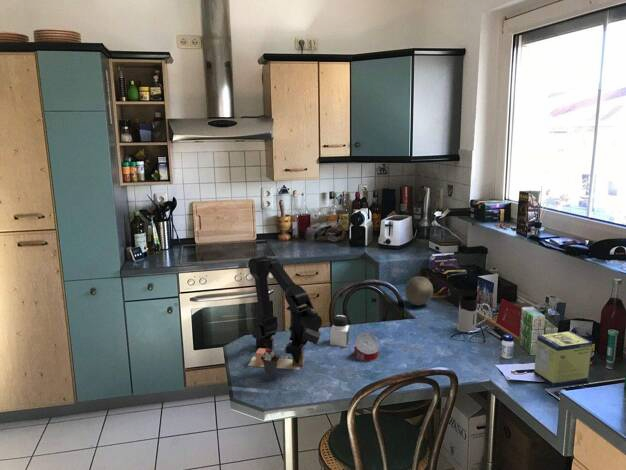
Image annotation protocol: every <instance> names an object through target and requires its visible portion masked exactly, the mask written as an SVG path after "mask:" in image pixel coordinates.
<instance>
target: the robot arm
mask: <svg viewBox="0 0 626 470" xmlns="http://www.w3.org/2000/svg"><path fill="white" fill-rule="evenodd" d="M247 267H248V269H249V270H248V271H249V274H250V275H251V276H252V277H253V279H254V285H255V291H256V292H255V293H256V299H257V306H258V315H257V318H256V320H255V326H256V327H255V328H254V329H253V330H252V331H251V334H252V335H251V336H252V338H254V339H255V346H256V348H255V349H257V350H258V349H259V348H263V349H267V346H268V349H270V350H273V349H274V347H275V345H274V344H275V340H274V338H273V336H276V335H277V331H278V327H279V324H278V317H277V316H275V315H274V314H273V312H272V307H271V300H270V291H269V283H268V277H269V275H270V274H271V276H272V277H273V278H274V279H275V281H276V282H277V284H278V285H279V286H280V288H281V289H282V291H283V292H284V299H285V300H286V302H287V304H288V306H287V307H286V310H287V311H289V312H290V313H289V315H290V318H289V319H290V326H289V331H290V336H289V342H288V343H287V344H286V346H285V348H284V349H285V350H284V351H285V352H284V353H285V354H286V355H291V357H293V358H294V360H295V362H296V363H297V364H299V360H300V355H301V354H302V353H303V351H304V350H305V346H306V344H307V343H308V342H309V343H312V344H314V345H318V343H319V340H320V337H321V335H322V334H321V331H320V328H321V327H322V324H323V320H322V319H323V318H322V317H321V316H320V315H319V313H318V312H317V311H313V310H314V309H315V308H314V305H313V302H312V301H311V299H310V296H309V295H308V292H307V291H306V290H305V289H304V288H303V287H302V286H300V285H298V284H296V283H295V282H294V281H293V279H292V278H291V276H290V275H289V274H288V272H287V271H286V270H285V269H284V267H283V266H282V265H281V262H280V260H279V259H278V258H275V257H267V256H266V255H261V256H255V257H252V258H250V259H249V260H248V264H247ZM265 344H266V345H267V346H266V345H265ZM304 352H305V351H304Z"/></svg>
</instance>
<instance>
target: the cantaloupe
mask: <svg viewBox="0 0 626 470" xmlns="http://www.w3.org/2000/svg"><path fill="white" fill-rule="evenodd" d="M433 287H434V286H433V283H431V281H430V280H429V279H428V278H427V277H425V276H414V277H411V278H410V279H409V281H407V283H406V286H405V292H404V293H405V297H406V299H407V301H408V302H409V304H411V305H412V306H422V305H424V304H426V303H427V302H428V301H430V300H431V299H432V297H433V294H434V288H433Z"/></svg>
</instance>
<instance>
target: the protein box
mask: <svg viewBox="0 0 626 470" xmlns="http://www.w3.org/2000/svg"><path fill="white" fill-rule="evenodd" d="M592 346H593V341H591V340H589V339H587V338H586V337H583V336H581V335H579V334H578V333H575V332H574V331H562V332H556V333H549V334H541V335H537V341H536V349H535V361H534V367H533V368H534V371H533V374H534V375H535V376H536V375H537V376H536V377H538V378H539V377H540V378H539V379H541V380H542V379H543V380H542V381H544V382H546V383H547V385H550V386H551V387H561V386H566V385H571V384H573V385H574V384H578V383H580V384H581V383H585V382H588V379H589V371H590V370H589V369H590V363H591V354H592Z"/></svg>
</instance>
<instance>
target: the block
mask: <svg viewBox="0 0 626 470" xmlns="http://www.w3.org/2000/svg"><path fill="white" fill-rule="evenodd" d="M265 350H266V349H263V348H259V349H257V350H256V352H255V357H256V364H263V365H264V363H263V361H262V360H261V356H263V355H264V353H265V352H266V351H265Z"/></svg>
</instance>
